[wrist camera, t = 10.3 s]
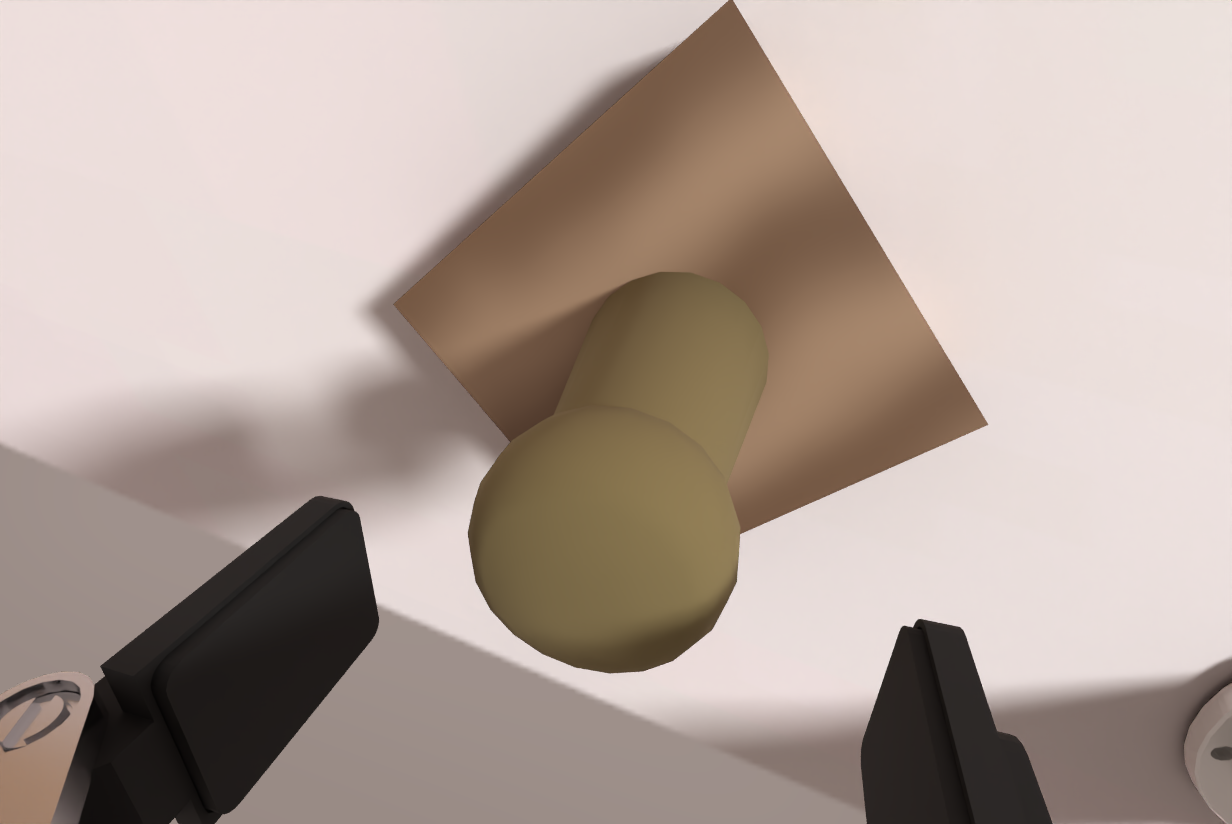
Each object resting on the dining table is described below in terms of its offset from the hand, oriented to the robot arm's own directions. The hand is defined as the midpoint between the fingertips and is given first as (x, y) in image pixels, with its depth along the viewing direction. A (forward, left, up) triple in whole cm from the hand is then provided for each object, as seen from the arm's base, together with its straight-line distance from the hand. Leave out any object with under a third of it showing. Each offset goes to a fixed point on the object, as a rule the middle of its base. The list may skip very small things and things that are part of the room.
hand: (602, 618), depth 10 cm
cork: (0, 0, -11) cm, 11 cm away
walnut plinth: (+1, 0, -15) cm, 15 cm away
